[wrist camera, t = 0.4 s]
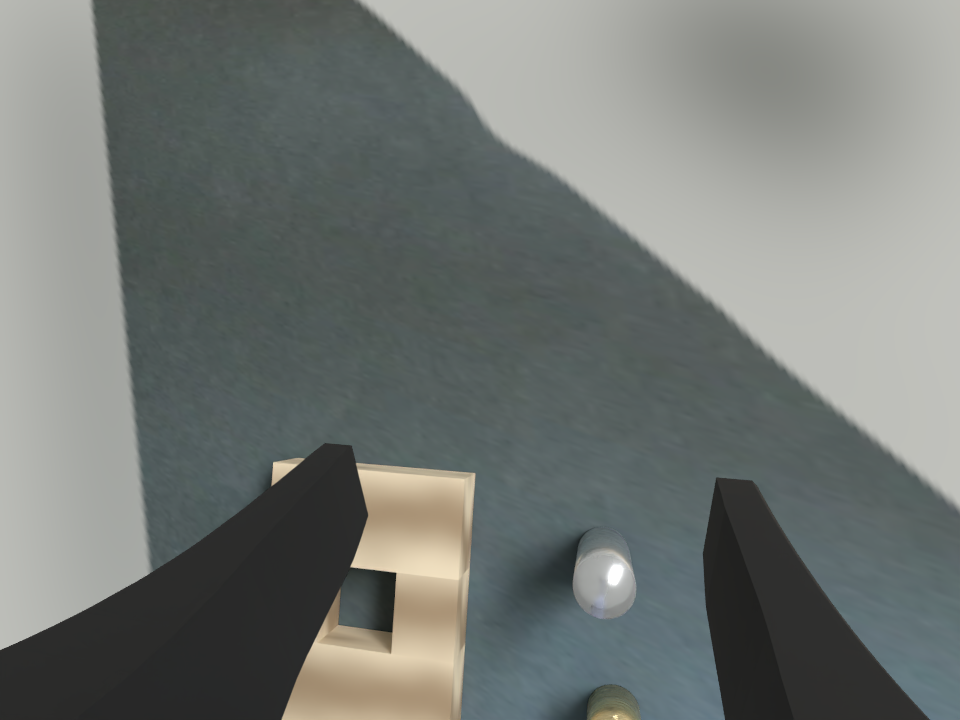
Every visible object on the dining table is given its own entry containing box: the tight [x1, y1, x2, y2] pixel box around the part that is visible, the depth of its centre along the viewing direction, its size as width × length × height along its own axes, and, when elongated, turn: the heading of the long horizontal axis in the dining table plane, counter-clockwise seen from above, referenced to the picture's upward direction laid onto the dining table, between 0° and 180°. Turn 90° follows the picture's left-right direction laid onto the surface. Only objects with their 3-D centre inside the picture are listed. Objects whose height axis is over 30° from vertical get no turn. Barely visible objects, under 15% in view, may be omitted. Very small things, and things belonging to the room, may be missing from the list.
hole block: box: [272, 458, 475, 720], centre depth 37 cm, size 16×12×3 cm
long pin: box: [573, 527, 636, 619], centre depth 33 cm, size 3×3×7 cm
